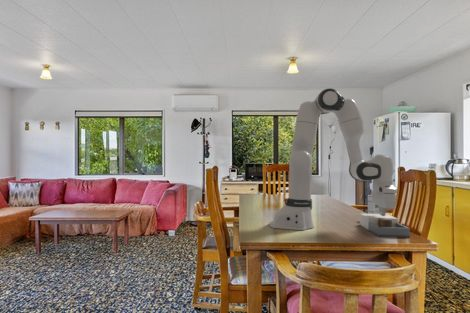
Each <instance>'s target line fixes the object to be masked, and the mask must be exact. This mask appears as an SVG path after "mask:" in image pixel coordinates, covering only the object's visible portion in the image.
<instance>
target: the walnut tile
mask: <svg viewBox="0 0 470 313" xmlns="http://www.w3.org/2000/svg"><path fill="white" fill-rule="evenodd" d="M378 226H379V227H392V220H390V219H379V224H378Z"/></svg>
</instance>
